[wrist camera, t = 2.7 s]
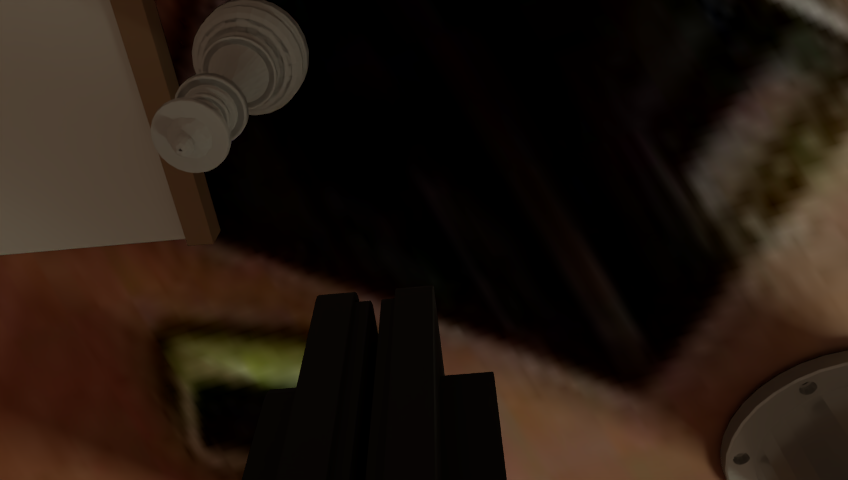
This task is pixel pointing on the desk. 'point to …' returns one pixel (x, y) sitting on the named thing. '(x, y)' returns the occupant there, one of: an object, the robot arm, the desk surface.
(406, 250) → the desk surface
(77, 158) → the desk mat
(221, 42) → the chess piece
